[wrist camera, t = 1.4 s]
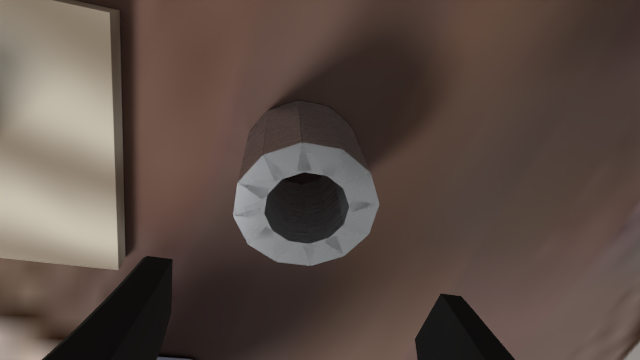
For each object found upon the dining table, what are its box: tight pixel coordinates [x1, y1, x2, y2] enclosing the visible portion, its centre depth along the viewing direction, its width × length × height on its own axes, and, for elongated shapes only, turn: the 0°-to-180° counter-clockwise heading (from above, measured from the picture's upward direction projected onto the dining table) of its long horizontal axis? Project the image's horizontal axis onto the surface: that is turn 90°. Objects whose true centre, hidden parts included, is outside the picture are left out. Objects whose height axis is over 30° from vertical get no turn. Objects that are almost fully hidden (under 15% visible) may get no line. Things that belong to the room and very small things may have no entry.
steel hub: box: [233, 100, 379, 266], centre depth 17 cm, size 6×6×5 cm
